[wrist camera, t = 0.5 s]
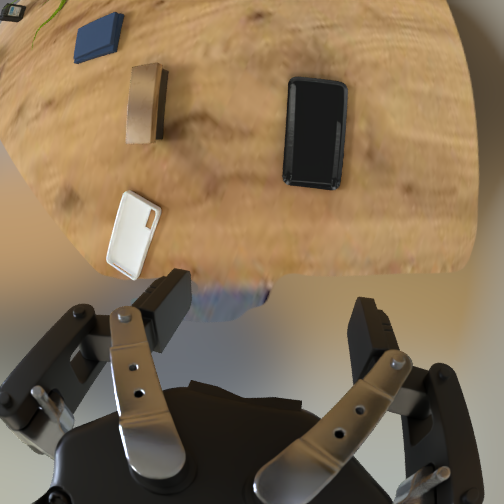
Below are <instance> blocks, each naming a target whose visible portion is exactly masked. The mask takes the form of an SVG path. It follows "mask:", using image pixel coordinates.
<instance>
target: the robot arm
mask: <svg viewBox="0 0 504 504" xmlns="http://www.w3.org/2000/svg"><path fill="white" fill-rule="evenodd" d="M191 301H192V294H191V274H190V271H187V270H182V269H176V268H174V269H173V270H172V271H171V272H170V273H169V274H168V276H167V277H165V276H163V277H161V278H159V279H157V280H155V281H154V282H153V283H152V284H151V285H150V287H149V288H147V289H146V291H145V292H144V293H143V294H142V295H141V296H140V297H139V298H138V299H137V300H136V301H135V302H134V303H133V304H132V306H124V307H120V308H117V309H115V310H114V311H113V312H112V313H111V314H110V315H96V314H95V311H94V308H93V307H92V306H91V305H89V304H78V305H75V306H73V307H72V308H70V309H69V310H68V311H67V312H66V313H65V314H64V315H63V316H62V317H61V319H59V321H57V323H55V325H54V326H53V327H52V328H51V329H50V330H49V331H48V332H47V333H46V334H45V335H44V336H43V337H42V338H41V339H40V340H39V341H38V343H37V344H36V345H35V346H34V347H33V348H32V349H31V350H30V351H29V353H28V354H27V355H26V356H25V357H24V358H23V359H22V361H21V362H20V363H19V364H18V365H17V366H16V368H15V369H14V370H13V371H12V372H11V374H10V375H9V376H8V377H7V378H6V380H5V381H4V382H3V384H2V385H1V386H0V418H1V419H2V420H3V422H4V423H5V424H6V426H7V427H8V428H9V429H10V430H11V431H12V432H13V433H14V434H15V435H16V436H17V437H18V438H19V439H20V440H21V441H22V442H23V443H25V444H27V445H28V446H29V447H30V448H31V449H32V450H33V451H34V452H36V453H38V454H42V455H43V454H46V455H47V456H48V457H50V458H51V459H53V460H54V473H53V479H52V483H51V486H50V488H49V490H48V491H47V492H46V493H45V494H44V495H43V496H42V497H41V498H39V499H38V500H37V501H35V502H33V503H32V504H482V502H483V500H484V485H483V477H482V470H481V465H480V459H479V453H478V449H477V444H476V439H475V436H474V431H473V427H472V423H471V420H470V416H469V412H468V409H467V405H466V402H465V399H464V396H463V393H462V390H461V387H460V384H459V381H458V378H457V376H456V373H455V371H454V370H453V369H452V368H451V367H450V366H448V365H446V364H444V363H435V364H433V365H432V366H431V368H430V369H429V371H428V370H424V369H421V368H418V367H415V366H413V363H412V360H411V358H410V357H409V356H408V355H407V354H405V353H404V352H402V351H400V349H399V347H398V343H397V340H396V337H395V335H394V332H393V329H392V326H391V323H390V320H389V318H388V316H387V315H386V314H385V313H384V312H383V311H382V310H378V309H377V307H376V304H375V301H374V299H372V298H365V297H358V298H357V300H356V302H355V306H354V309H353V312H352V315H351V318H350V321H349V324H348V329H347V337H348V344H349V351H350V359H351V368H352V376H353V387H352V388H351V389H350V390H349V391H348V392H347V393H346V394H345V395H344V397H343V398H342V399H341V400H340V401H339V402H338V403H337V404H336V405H335V406H334V407H333V408H332V409H331V410H330V411H329V412H328V413H327V414H326V415H325V416H324V417H323V418H322V419H321V418H319V417H318V416H316V415H315V414H313V413H311V412H309V411H307V410H304V409H301V407H302V406H301V405H302V401H300V400H292V399H284V398H276V397H268V398H243V397H240V396H238V395H235V394H233V393H231V392H229V391H226V390H224V389H222V388H220V387H218V386H213V385H209V384H204V383H201V382H197V381H193V380H191V382H190V384H189V386H188V387H177V388H171V389H166V390H163V391H162V388H161V385H160V382H159V379H158V375H157V372H156V369H155V365H154V362H153V358H152V355H151V353H152V351H155V352H158V353H162V352H163V350H164V348H165V347H166V345H167V344H168V342H169V341H170V339H171V337H172V336H173V334H174V332H175V331H176V329H177V328H178V326H179V325H180V323H181V322H182V320H183V318H184V317H185V315H186V314H187V312H188V311H189V309H190V306H191ZM77 347H79V349H80V350H79V352H78V353H77V354H76V356H75V357H74V358H73V360H72V361H71V362H70V357H71V355H72V353H73V352H74V351H75V349H76V348H77ZM107 362H111V369H112V376H113V383H114V390H115V395H116V401H117V407H118V411H116V412H113V413H111V414H109V415H106V416H104V417H102V418H99V419H96V420H94V421H91V422H89V423H86V424H83V425H81V426H78V427H75V428H73V426H74V416H73V414H74V412H75V411H76V409H77V407H78V406H79V404H80V402H81V401H82V399H83V398H84V396H85V395H86V393H87V392H88V390H89V388H90V387H91V385H92V384H93V382H94V381H95V379H96V378H97V376H98V375H99V373H100V372H101V370H102V369H103V367H104V366H105V364H106V363H107ZM386 411H389V412H393V413H396V414H400V415H401V420H402V429H403V439H404V451H405V469H406V479H405V480H404V481H403V482H402V483H401V484H400V485H399V487H398V489H397V491H396V497H395V500H394V502H393V501H392V499H391V498H390V496H389V495H388V494H387V493H386V492H385V491H384V489H383V488H382V487H381V486H380V485H379V484H378V483H377V482H376V481H375V480H374V479H373V478H372V476H371V475H370V474H369V473H368V472H367V471H366V470H365V468H364V467H363V466H362V465H361V464H360V463H359V461H358V460H357V459H356V458H355V457H354V456H353V455H354V454H355V452H356V451H357V450H358V449H359V447H360V446H361V445H362V444H363V443H364V441H365V440H366V439H367V437H368V436H369V435H370V434H371V432H372V431H373V430H374V428H375V427H376V425H377V424H378V423H379V421H380V420H381V418H382V417H383V416H384V414H385V413H386Z"/></svg>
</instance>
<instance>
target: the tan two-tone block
mask: <svg viewBox="0 0 504 504" xmlns="http://www.w3.org/2000/svg"><path fill="white" fill-rule="evenodd" d="M167 80H168V71H166V70H164V69H162V65H161V64H159V63H153V64H147V65H141V66H135V67H132V72H131V80H130V89H129V99H128V111H127V127H126V144H150V143H156V140H159V139H163V125H164V111H165V100H166V89H167Z"/></svg>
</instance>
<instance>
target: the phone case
mask: <svg viewBox="0 0 504 504" xmlns="http://www.w3.org/2000/svg"><path fill="white" fill-rule="evenodd" d="M151 209H153V210H155V212H156V215H155V219H154V222H153V224H152V227H151V229H149V228H147V227H146V223H147V220H148V217H149V214H150V211H151ZM160 215H161V208H160V207H158V206H157V205H155V204H153V203H151V202H150V201H148V200H146V199H144V198H143V197H141V196H139V195H138V194H136V193H134V192H132V191H131V190H129V191H126V192H124V194H123V196H122V199H121V202H120V206H119V209H118V213H117V216H116V220H115V224H114V228H113V231H112V235H111V240H110V244H109V248H108V253H107V257H106V260H107V263H109V264H110V265H112V266H113V267H115V268H116V269H118V270H119V271H120V272H122V273H123V274H125V275H126V276H128V277H129V278H131V279H132V280H136V279H137V278H138V277H139V276H140V273H141V270H142V267H143V264H144V261H145V258H146V255H147V252H148V249H149V246H150V243H151V240H152V237H153V234H154V231H155V229H156V226H157V223H158V221H159V218H160ZM113 263H115V264H116V265H118V266H119V267H121V268H122V269H123V270H125V271H126V272H128V273H129V274H131V275H132V276H130V275H128V274H127V273H125V272H124V271H122V270H121V269H119V268H118V267H117V266H115V265H114V264H113Z"/></svg>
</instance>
